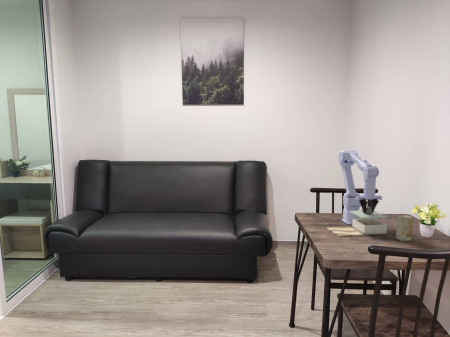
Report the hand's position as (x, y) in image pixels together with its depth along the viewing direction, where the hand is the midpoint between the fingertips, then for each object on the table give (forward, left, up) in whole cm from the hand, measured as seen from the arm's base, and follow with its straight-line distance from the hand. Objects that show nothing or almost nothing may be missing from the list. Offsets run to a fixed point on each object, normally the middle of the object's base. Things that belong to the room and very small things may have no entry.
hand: (368, 212), depth 193 cm
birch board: (+1, -14, -10) cm, 17 cm away
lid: (0, 0, -2) cm, 2 cm away
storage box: (0, +1, -10) cm, 10 cm away
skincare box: (+16, +11, -11) cm, 22 cm away
